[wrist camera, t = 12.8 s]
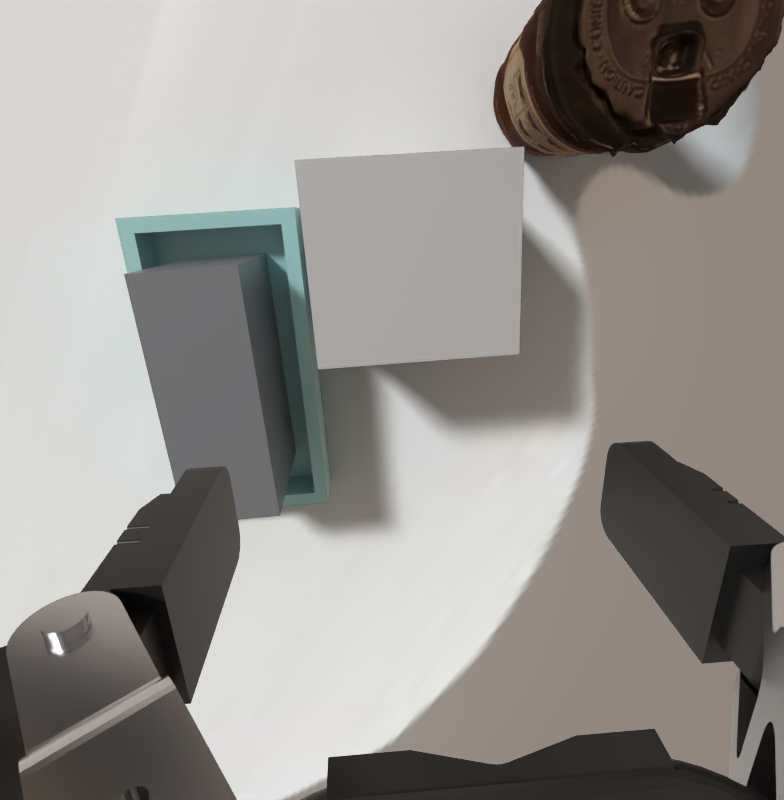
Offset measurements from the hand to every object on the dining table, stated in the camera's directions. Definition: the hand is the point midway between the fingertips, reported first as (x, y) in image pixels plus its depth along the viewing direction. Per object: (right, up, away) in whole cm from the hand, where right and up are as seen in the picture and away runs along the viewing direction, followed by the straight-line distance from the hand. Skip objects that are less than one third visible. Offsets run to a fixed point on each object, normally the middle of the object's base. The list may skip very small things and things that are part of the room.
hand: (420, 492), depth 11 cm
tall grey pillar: (-10, +4, +22) cm, 24 cm away
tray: (-10, +4, +22) cm, 25 cm away
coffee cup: (+8, +19, +19) cm, 28 cm away
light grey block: (0, +11, +21) cm, 23 cm away
